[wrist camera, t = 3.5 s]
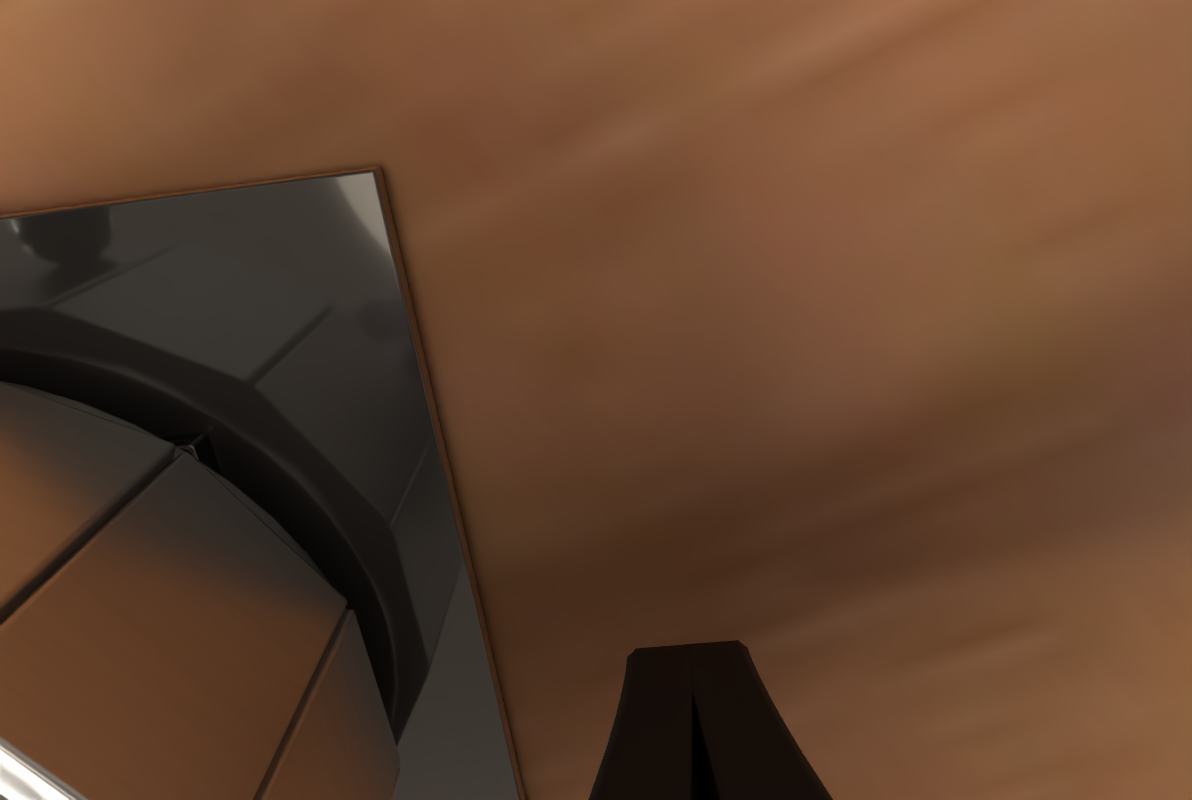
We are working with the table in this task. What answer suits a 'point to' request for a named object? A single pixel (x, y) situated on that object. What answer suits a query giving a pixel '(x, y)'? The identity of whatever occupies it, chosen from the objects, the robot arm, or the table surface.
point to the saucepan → (166, 628)
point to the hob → (285, 413)
